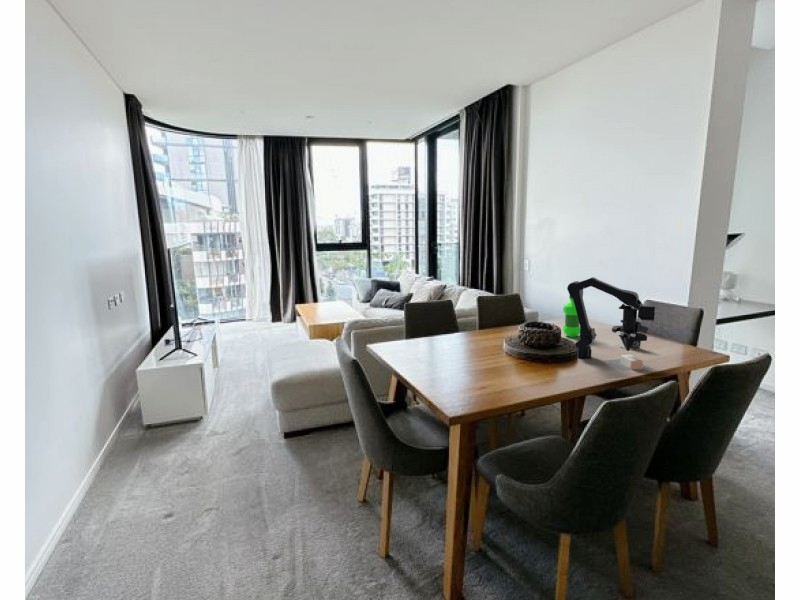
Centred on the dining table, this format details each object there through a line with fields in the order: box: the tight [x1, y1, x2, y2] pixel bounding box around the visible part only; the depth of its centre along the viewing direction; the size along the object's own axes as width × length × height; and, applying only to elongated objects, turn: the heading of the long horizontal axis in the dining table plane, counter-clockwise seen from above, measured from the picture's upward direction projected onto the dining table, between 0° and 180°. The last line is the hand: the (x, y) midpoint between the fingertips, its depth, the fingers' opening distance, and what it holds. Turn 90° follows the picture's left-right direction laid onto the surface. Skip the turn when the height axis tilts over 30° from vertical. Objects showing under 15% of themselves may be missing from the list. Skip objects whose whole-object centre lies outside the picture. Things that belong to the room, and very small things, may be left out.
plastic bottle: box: [562, 294, 580, 338], centre depth 247 cm, size 10×10×25 cm
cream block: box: [620, 354, 644, 371], centre depth 193 cm, size 5×4×9 cm
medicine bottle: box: [619, 332, 642, 350], centre depth 221 cm, size 7×7×12 cm
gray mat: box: [605, 358, 653, 371], centre depth 196 cm, size 14×15×1 cm
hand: (627, 350), depth 195 cm, fingers closed
